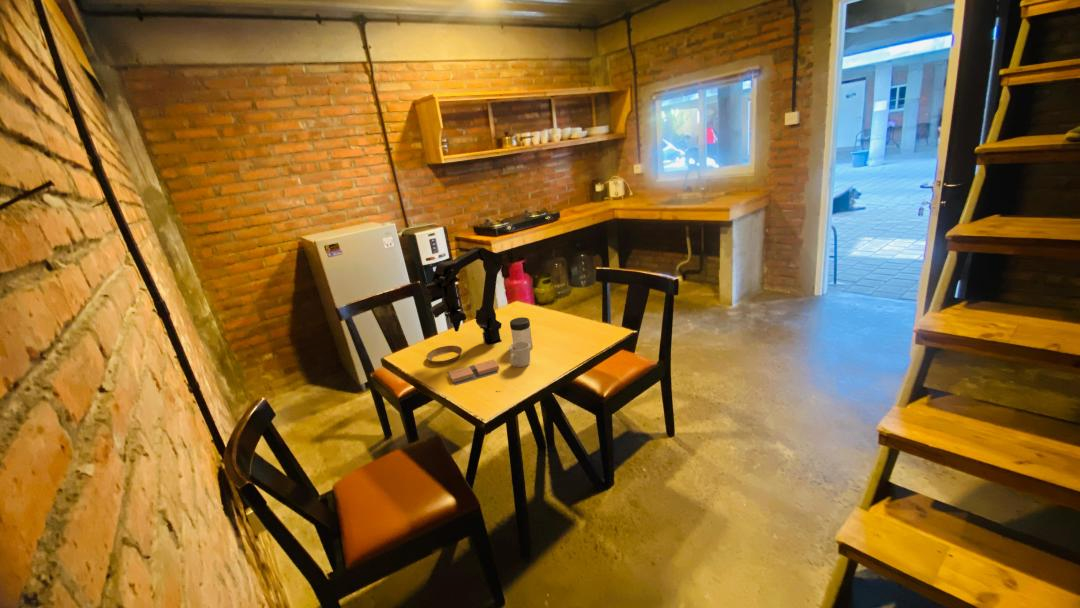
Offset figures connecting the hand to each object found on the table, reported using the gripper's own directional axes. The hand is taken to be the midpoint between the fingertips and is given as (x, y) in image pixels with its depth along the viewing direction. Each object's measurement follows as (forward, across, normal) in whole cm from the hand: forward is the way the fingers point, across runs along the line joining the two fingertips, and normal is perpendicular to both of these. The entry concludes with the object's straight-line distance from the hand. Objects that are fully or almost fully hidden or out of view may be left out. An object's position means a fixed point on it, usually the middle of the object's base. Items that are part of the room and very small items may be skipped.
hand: (456, 331), depth 183 cm
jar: (+12, +6, +25) cm, 28 cm away
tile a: (+11, +13, +6) cm, 18 cm away
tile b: (+11, +13, -4) cm, 18 cm away
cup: (+12, +21, +18) cm, 30 cm away
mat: (+12, +16, 0) cm, 20 cm away
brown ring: (+12, -4, -6) cm, 14 cm away
